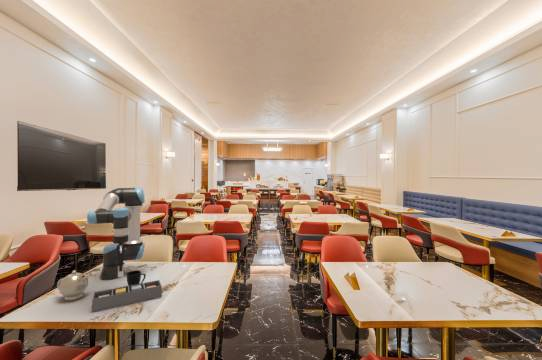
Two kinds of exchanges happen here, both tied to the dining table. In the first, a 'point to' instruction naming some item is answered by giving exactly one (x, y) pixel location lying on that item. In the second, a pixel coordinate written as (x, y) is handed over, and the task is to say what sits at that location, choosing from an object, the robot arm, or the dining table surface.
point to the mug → (134, 277)
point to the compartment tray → (125, 296)
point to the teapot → (73, 286)
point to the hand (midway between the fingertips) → (120, 276)
